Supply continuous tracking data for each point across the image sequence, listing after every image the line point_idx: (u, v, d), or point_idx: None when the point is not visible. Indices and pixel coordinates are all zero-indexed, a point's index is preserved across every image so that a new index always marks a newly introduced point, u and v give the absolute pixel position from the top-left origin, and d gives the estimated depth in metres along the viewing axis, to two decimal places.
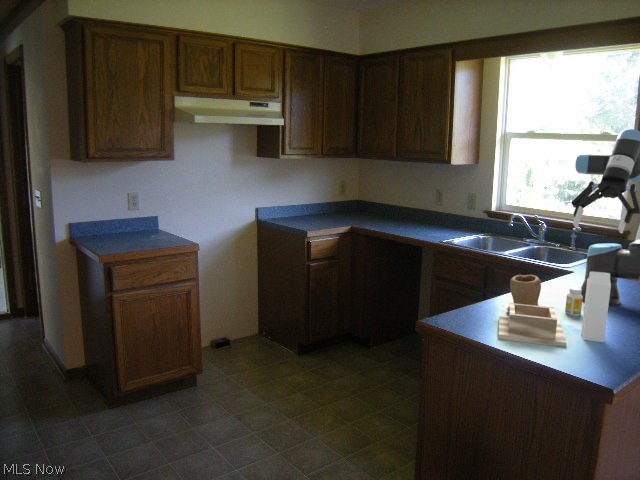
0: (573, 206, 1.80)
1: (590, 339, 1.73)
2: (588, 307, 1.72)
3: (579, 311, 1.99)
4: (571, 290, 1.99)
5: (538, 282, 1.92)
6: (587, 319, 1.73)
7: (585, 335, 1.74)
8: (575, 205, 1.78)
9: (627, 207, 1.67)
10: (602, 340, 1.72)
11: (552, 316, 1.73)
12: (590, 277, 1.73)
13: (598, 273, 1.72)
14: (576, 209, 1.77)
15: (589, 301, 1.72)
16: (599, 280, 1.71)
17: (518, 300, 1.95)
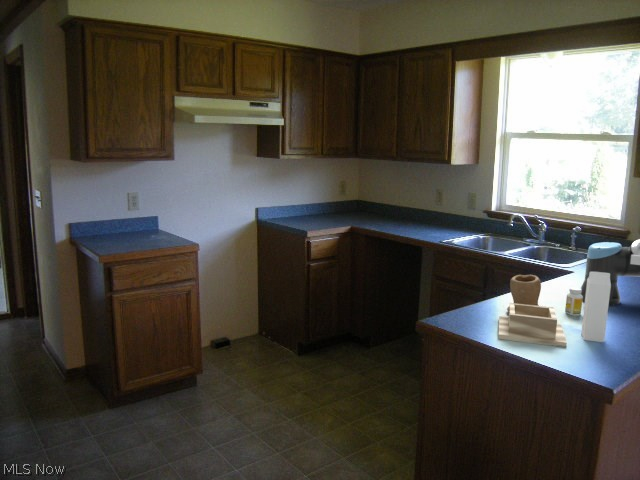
0: None
1: (590, 339, 1.73)
2: (588, 307, 1.72)
3: (579, 311, 1.99)
4: (571, 290, 1.99)
5: (538, 282, 1.92)
6: (587, 319, 1.73)
7: (585, 335, 1.74)
8: None
9: None
10: (602, 340, 1.72)
11: (552, 316, 1.73)
12: (590, 277, 1.73)
13: (598, 273, 1.72)
14: None
15: (589, 301, 1.72)
16: (598, 280, 1.71)
17: (518, 300, 1.95)
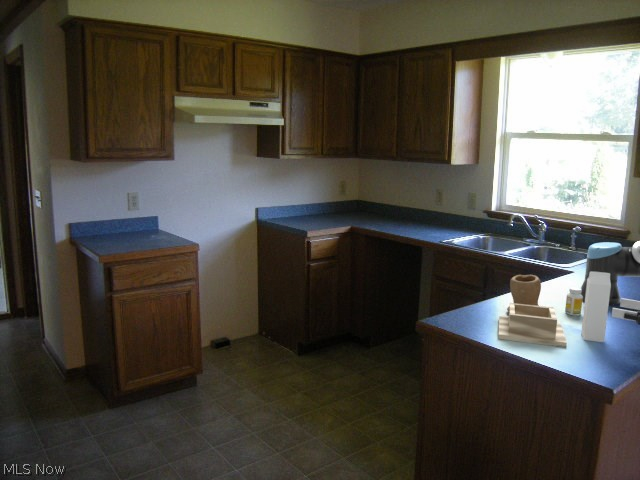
0: (638, 318, 1.58)
1: (590, 339, 1.73)
2: (588, 307, 1.72)
3: (579, 311, 1.99)
4: (571, 290, 1.99)
5: (538, 282, 1.92)
6: (587, 319, 1.73)
7: (585, 335, 1.74)
8: (637, 321, 1.59)
9: None
10: (602, 340, 1.72)
11: (552, 316, 1.73)
12: (590, 277, 1.73)
13: (598, 273, 1.72)
14: None
15: (589, 301, 1.72)
16: (598, 280, 1.71)
17: (518, 300, 1.95)
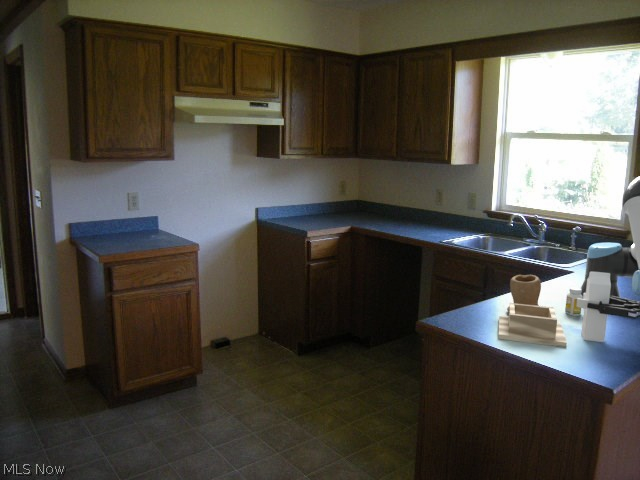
0: (600, 307, 1.67)
1: (590, 339, 1.73)
2: None
3: (579, 311, 1.99)
4: (571, 290, 1.99)
5: (538, 282, 1.92)
6: (587, 319, 1.73)
7: (585, 335, 1.74)
8: (599, 310, 1.68)
9: None
10: (602, 340, 1.72)
11: (552, 316, 1.73)
12: (590, 277, 1.73)
13: (598, 273, 1.72)
14: None
15: None
16: (599, 280, 1.71)
17: (518, 300, 1.95)
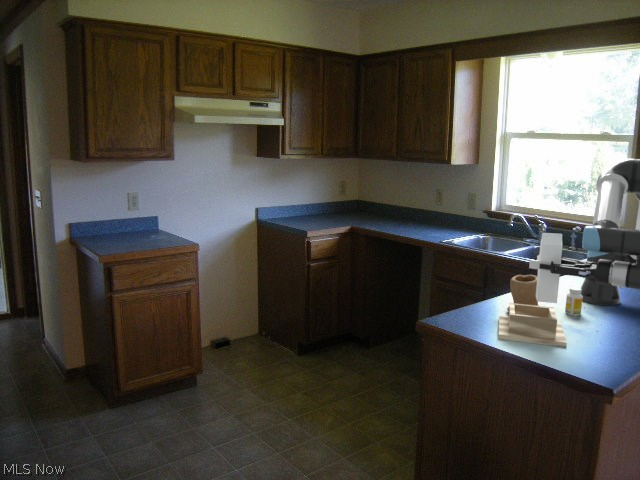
0: (551, 267, 1.67)
1: (543, 300, 1.73)
2: None
3: (579, 311, 1.99)
4: (571, 290, 1.99)
5: None
6: (540, 280, 1.73)
7: (538, 296, 1.74)
8: (550, 270, 1.68)
9: None
10: (555, 301, 1.72)
11: (552, 316, 1.73)
12: (543, 238, 1.73)
13: (550, 234, 1.72)
14: None
15: None
16: (551, 241, 1.71)
17: (518, 300, 1.95)
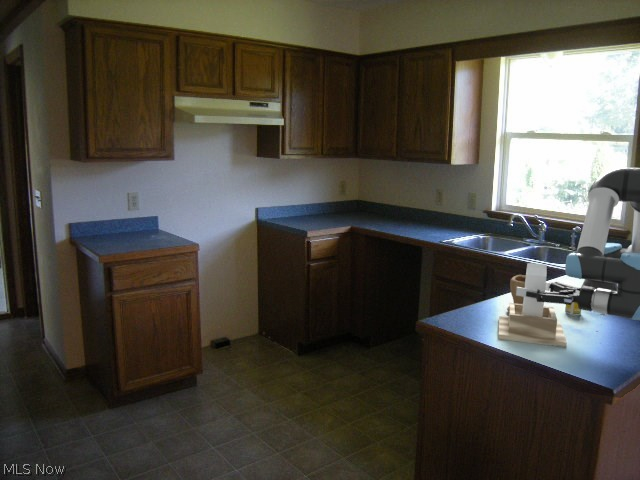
0: (537, 295, 1.68)
1: None
2: (525, 297, 1.76)
3: (579, 311, 1.99)
4: None
5: None
6: (524, 309, 1.76)
7: None
8: (536, 298, 1.69)
9: None
10: None
11: (552, 316, 1.73)
12: (527, 268, 1.76)
13: (535, 265, 1.76)
14: None
15: None
16: (535, 271, 1.75)
17: (518, 300, 1.95)
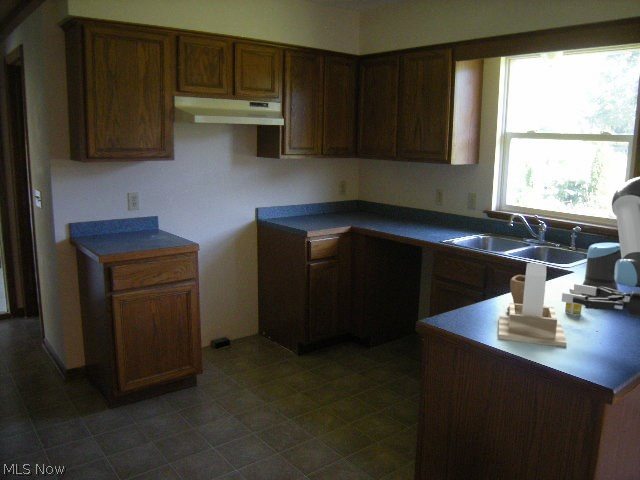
0: (585, 301, 1.59)
1: None
2: (525, 297, 1.76)
3: (579, 311, 1.99)
4: (571, 290, 1.99)
5: None
6: (524, 309, 1.76)
7: None
8: (585, 305, 1.61)
9: None
10: None
11: (552, 316, 1.73)
12: (527, 268, 1.76)
13: (535, 265, 1.76)
14: None
15: (525, 292, 1.75)
16: (535, 271, 1.75)
17: (518, 300, 1.95)
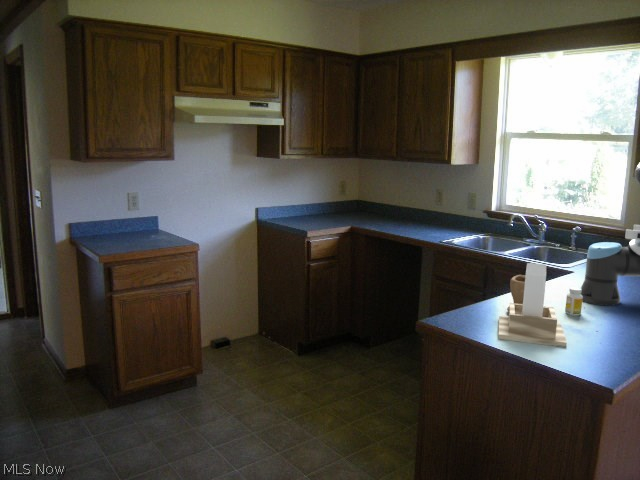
0: None
1: None
2: (525, 297, 1.76)
3: (579, 311, 1.99)
4: (571, 290, 1.99)
5: None
6: (524, 309, 1.76)
7: None
8: None
9: None
10: None
11: (552, 316, 1.73)
12: (527, 268, 1.76)
13: (535, 265, 1.76)
14: None
15: (525, 292, 1.75)
16: (535, 271, 1.75)
17: (518, 300, 1.95)
